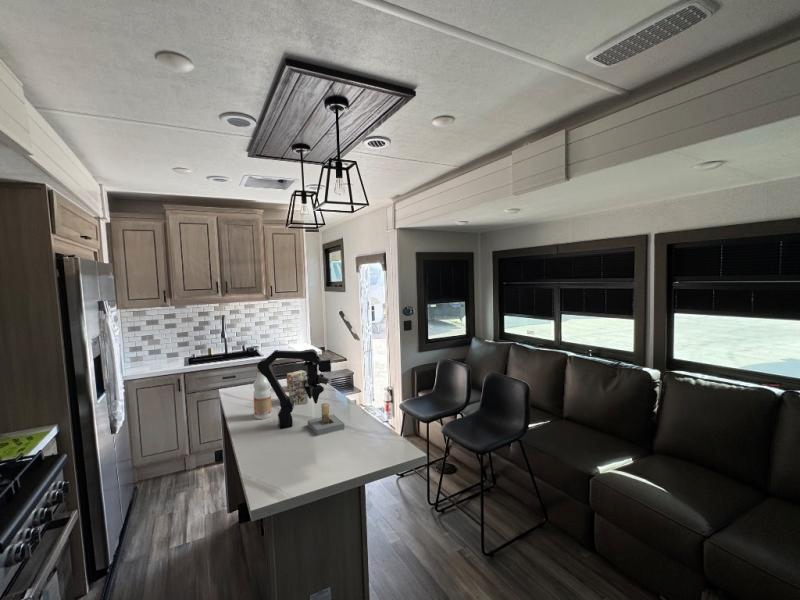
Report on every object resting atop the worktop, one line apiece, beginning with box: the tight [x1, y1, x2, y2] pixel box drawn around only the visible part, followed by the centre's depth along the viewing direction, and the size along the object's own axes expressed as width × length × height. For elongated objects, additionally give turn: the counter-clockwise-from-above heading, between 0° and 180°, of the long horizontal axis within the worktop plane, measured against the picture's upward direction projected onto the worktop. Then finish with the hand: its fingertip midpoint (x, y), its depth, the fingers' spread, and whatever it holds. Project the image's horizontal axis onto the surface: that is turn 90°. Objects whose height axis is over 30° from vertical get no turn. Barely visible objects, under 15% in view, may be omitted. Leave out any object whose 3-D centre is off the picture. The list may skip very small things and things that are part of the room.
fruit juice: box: [253, 368, 273, 420], centre depth 216 cm, size 9×9×28 cm
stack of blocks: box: [286, 369, 307, 390], centre depth 270 cm, size 21×6×12 cm, turn 137°
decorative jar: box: [288, 374, 309, 405], centre depth 240 cm, size 12×12×18 cm
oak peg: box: [321, 403, 330, 425], centre depth 200 cm, size 4×4×12 cm
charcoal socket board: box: [307, 414, 345, 436], centre depth 200 cm, size 15×15×3 cm
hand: (313, 400), depth 204 cm, fingers open, 9 cm apart
